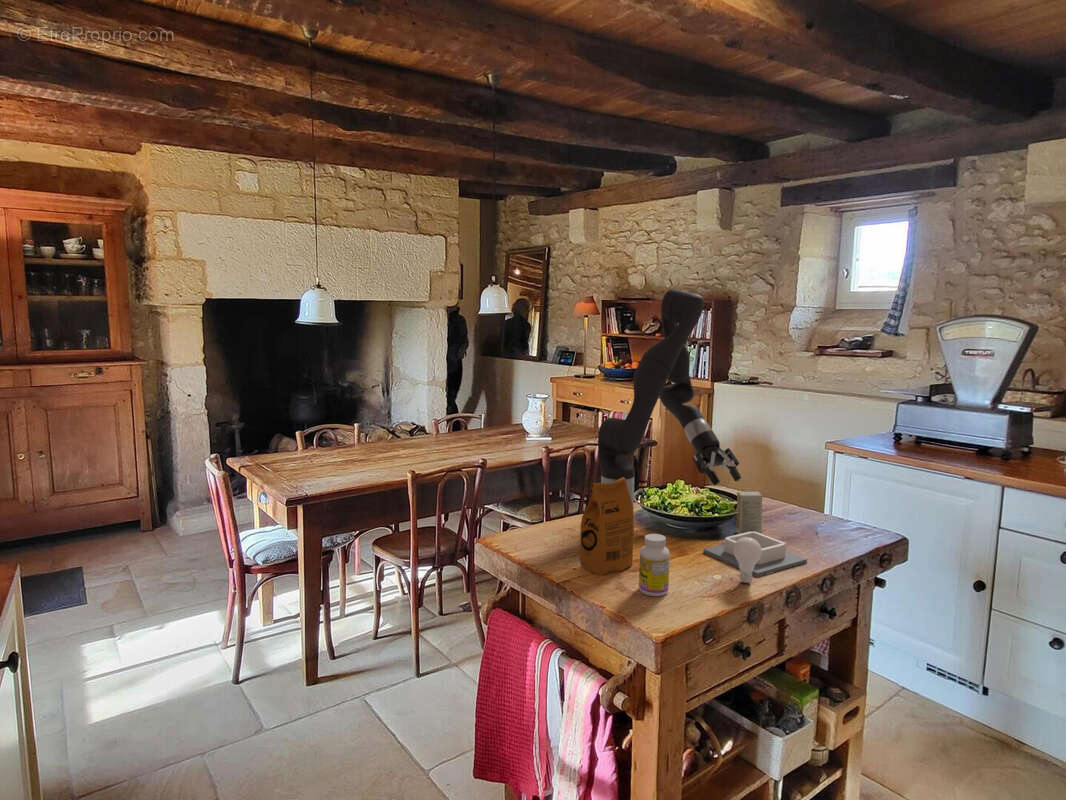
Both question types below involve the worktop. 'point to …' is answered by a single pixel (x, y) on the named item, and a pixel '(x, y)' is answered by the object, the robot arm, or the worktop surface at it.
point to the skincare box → (749, 512)
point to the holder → (770, 559)
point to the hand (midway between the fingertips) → (728, 481)
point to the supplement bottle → (654, 566)
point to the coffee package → (607, 529)
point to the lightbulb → (747, 556)
